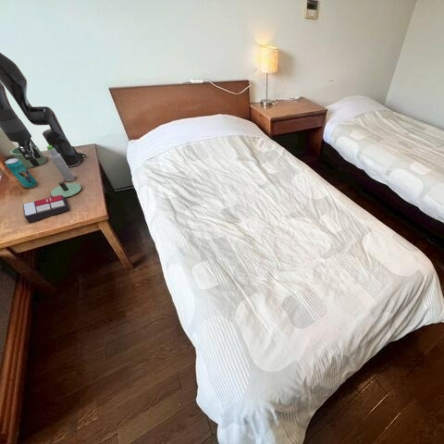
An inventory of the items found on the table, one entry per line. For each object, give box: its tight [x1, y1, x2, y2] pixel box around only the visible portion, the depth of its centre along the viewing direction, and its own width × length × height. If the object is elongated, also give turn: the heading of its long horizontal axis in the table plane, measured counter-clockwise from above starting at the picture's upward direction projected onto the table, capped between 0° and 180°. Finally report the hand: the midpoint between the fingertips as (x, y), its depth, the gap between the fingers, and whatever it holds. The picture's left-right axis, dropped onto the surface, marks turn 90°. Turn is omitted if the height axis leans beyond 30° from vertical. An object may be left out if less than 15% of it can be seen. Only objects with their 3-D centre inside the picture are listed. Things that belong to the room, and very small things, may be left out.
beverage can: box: [4, 157, 38, 189], centre depth 128 cm, size 6×6×15 cm
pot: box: [9, 145, 47, 169], centre depth 146 cm, size 12×12×8 cm
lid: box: [50, 181, 82, 199], centre depth 130 cm, size 13×13×6 cm
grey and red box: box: [22, 195, 70, 223], centre depth 119 cm, size 11×4×15 cm
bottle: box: [46, 144, 76, 182], centre depth 133 cm, size 4×4×20 cm
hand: (37, 161), depth 117 cm, fingers open, 8 cm apart
